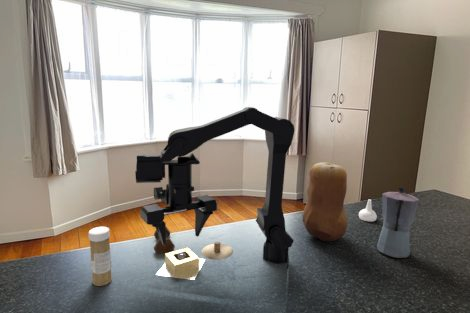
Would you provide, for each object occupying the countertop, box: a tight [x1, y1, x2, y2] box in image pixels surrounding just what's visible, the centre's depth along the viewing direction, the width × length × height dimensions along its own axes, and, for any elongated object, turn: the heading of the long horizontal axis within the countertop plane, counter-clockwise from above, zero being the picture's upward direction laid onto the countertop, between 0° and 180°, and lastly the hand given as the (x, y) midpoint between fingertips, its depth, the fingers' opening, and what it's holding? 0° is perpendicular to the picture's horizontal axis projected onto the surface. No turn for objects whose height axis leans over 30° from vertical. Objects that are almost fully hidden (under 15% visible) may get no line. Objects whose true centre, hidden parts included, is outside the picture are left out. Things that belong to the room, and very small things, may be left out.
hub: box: [155, 252, 206, 281], centre depth 80 cm, size 10×10×4 cm
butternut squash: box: [302, 161, 348, 243], centre depth 98 cm, size 14×13×25 cm
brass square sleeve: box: [164, 247, 200, 276], centre depth 80 cm, size 7×7×3 cm
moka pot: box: [376, 186, 420, 259], centre depth 90 cm, size 10×15×20 cm, turn 155°
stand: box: [201, 241, 234, 260], centre depth 89 cm, size 9×9×4 cm
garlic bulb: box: [358, 198, 378, 223], centre depth 117 cm, size 6×6×8 cm
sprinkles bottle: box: [88, 226, 113, 287], centre depth 74 cm, size 5×5×14 cm
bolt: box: [153, 226, 176, 255], centre depth 94 cm, size 6×5×15 cm
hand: (180, 240), depth 79 cm, fingers open, 9 cm apart
